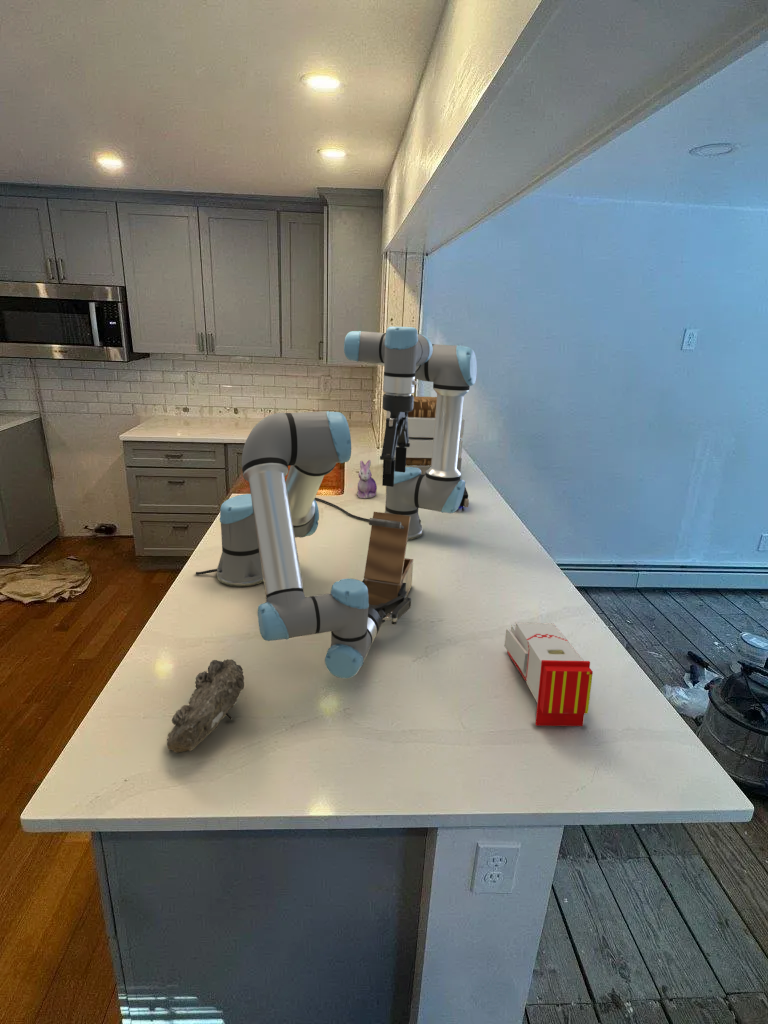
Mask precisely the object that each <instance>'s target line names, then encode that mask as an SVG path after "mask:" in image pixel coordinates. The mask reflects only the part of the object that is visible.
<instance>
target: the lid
mask: <svg viewBox="0 0 768 1024" xmlns="http://www.w3.org/2000/svg"><path fill="white" fill-rule="evenodd" d="M410 518H411V517H410V516H405V515H397V514H389V513H385V512H380V511H373V513H372V517H370V518H368V519H369V521H368V525H369V526H371V528H370V533H369V541H368V548H367V554H366V561H365V568H364V572H363V573H364V574H363V579H364V578H367V579H373V580H380V581H387V582H393V583H400V584H401V580H402V573H403V566H404V559H405V558H406V552H407V544H408V540H407V539H408V532H409V525H410Z"/></svg>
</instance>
